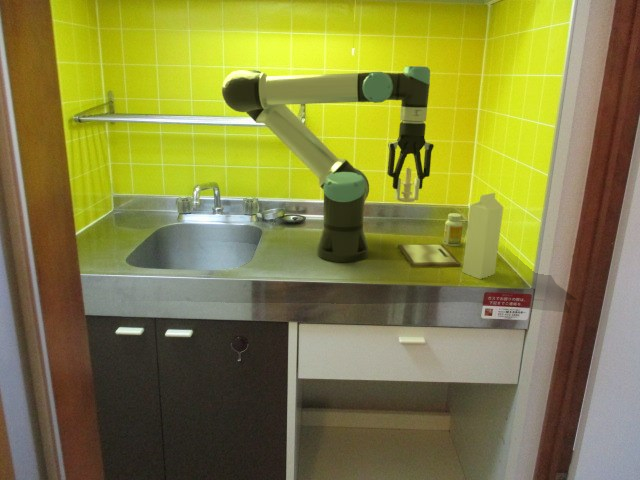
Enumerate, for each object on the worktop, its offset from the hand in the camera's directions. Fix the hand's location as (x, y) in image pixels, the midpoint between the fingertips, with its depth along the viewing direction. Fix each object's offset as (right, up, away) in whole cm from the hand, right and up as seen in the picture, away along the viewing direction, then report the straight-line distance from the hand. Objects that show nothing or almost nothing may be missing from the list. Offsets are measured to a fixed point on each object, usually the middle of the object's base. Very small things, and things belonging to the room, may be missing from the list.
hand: (406, 199), depth 153 cm
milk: (+16, -22, -19) cm, 33 cm away
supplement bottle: (+15, -14, +5) cm, 22 cm away
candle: (0, -1, 0) cm, 1 cm away
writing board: (+5, -17, -6) cm, 19 cm away
